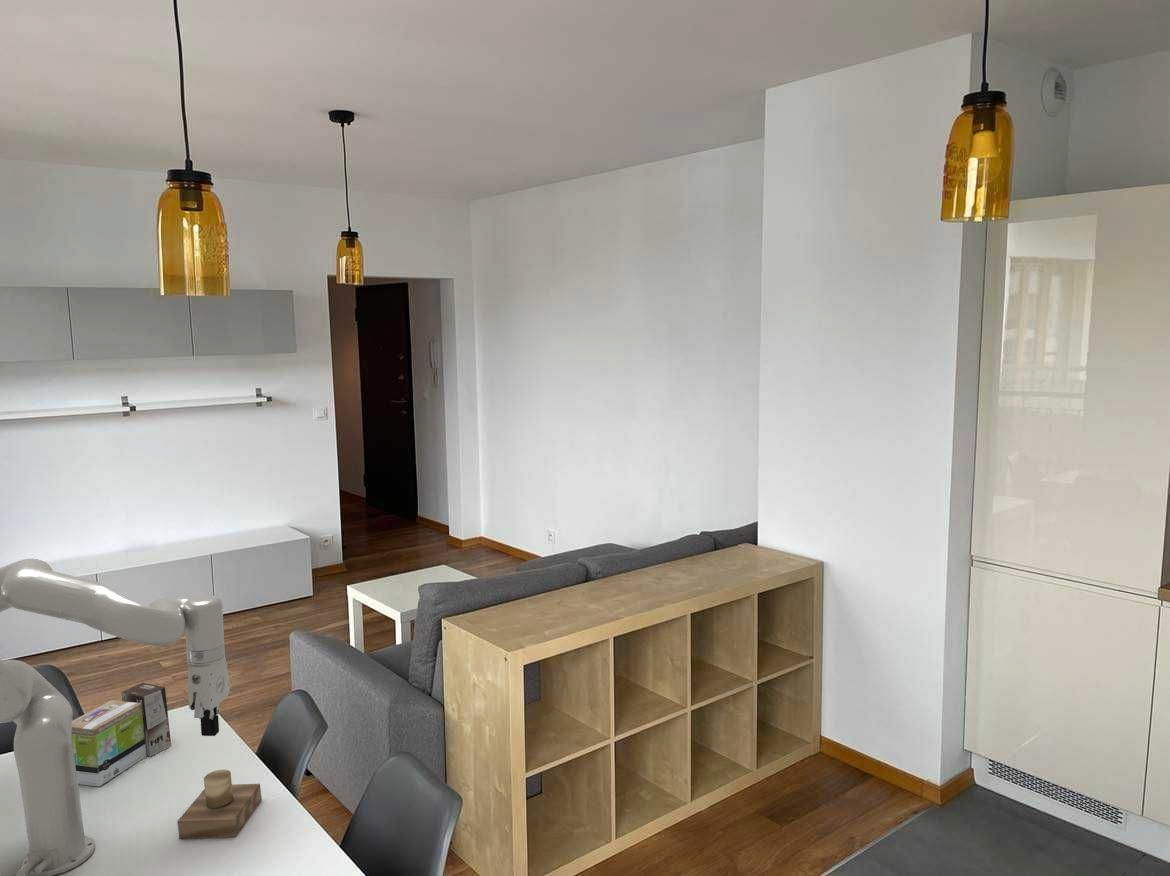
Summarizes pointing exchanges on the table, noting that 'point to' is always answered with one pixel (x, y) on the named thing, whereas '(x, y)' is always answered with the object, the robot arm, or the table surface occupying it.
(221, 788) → the peg
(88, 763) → the tea box
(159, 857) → the table surface
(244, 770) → the table surface
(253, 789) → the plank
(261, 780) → the table surface
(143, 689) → the coffee box
